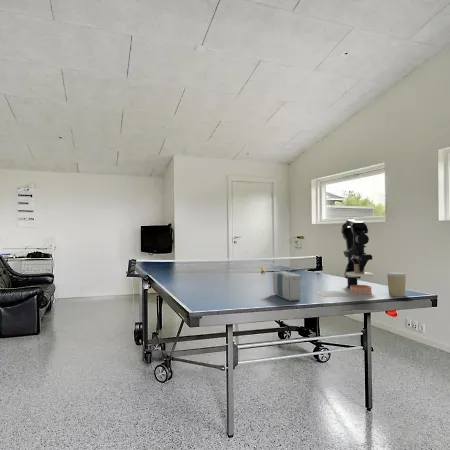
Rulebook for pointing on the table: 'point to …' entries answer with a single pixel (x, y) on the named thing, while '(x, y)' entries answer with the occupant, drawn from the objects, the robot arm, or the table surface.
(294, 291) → the white blue box
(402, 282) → the coffee cup
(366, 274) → the lid
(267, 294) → the table surface
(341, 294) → the mat
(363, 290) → the bowl
